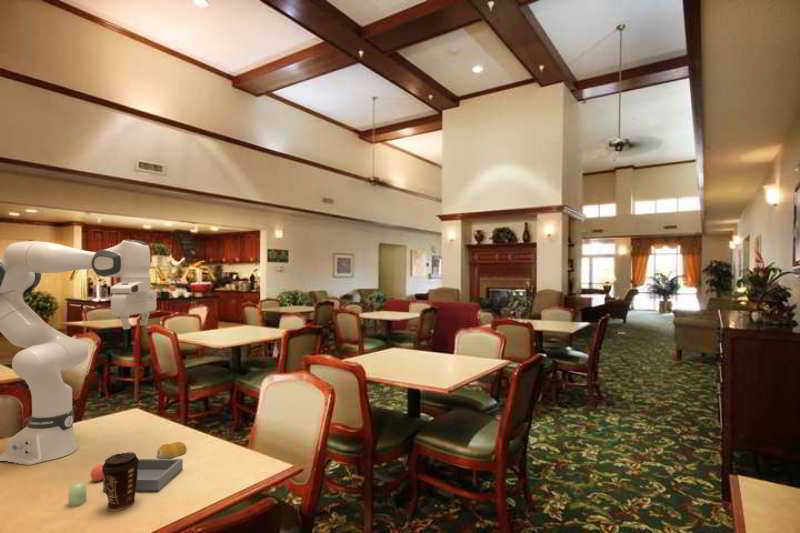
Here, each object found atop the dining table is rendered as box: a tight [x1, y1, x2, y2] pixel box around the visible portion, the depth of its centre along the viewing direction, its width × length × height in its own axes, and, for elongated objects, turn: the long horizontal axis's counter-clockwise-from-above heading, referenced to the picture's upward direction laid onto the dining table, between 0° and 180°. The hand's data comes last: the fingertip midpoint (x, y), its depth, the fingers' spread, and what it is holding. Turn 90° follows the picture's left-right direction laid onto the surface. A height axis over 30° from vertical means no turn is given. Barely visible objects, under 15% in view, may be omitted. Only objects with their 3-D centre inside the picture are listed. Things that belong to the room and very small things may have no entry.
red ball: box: [90, 464, 105, 482], centre depth 134 cm, size 4×4×4 cm
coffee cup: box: [102, 451, 140, 512], centre depth 120 cm, size 9×8×13 cm
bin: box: [102, 458, 184, 493], centre depth 133 cm, size 16×14×4 cm
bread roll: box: [156, 441, 187, 459], centre depth 153 cm, size 8×9×4 cm
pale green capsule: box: [67, 480, 87, 508], centre depth 121 cm, size 4×4×5 cm
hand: (135, 327), depth 150 cm, fingers open, 8 cm apart
